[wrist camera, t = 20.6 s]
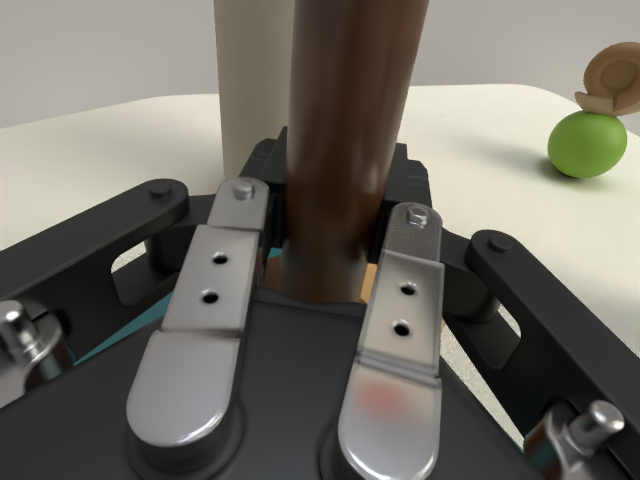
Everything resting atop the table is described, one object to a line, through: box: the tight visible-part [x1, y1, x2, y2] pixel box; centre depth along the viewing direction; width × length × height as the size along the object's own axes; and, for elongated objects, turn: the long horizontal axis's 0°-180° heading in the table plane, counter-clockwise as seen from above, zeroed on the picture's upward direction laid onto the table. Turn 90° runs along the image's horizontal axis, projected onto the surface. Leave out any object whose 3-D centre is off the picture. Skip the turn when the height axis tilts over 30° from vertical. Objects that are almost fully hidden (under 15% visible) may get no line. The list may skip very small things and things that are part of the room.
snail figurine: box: [548, 42, 640, 178], centre depth 32 cm, size 5×6×12 cm
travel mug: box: [214, 0, 295, 181], centre depth 24 cm, size 8×8×18 cm
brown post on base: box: [265, 0, 429, 304], centre depth 12 cm, size 5×8×15 cm, turn 36°
